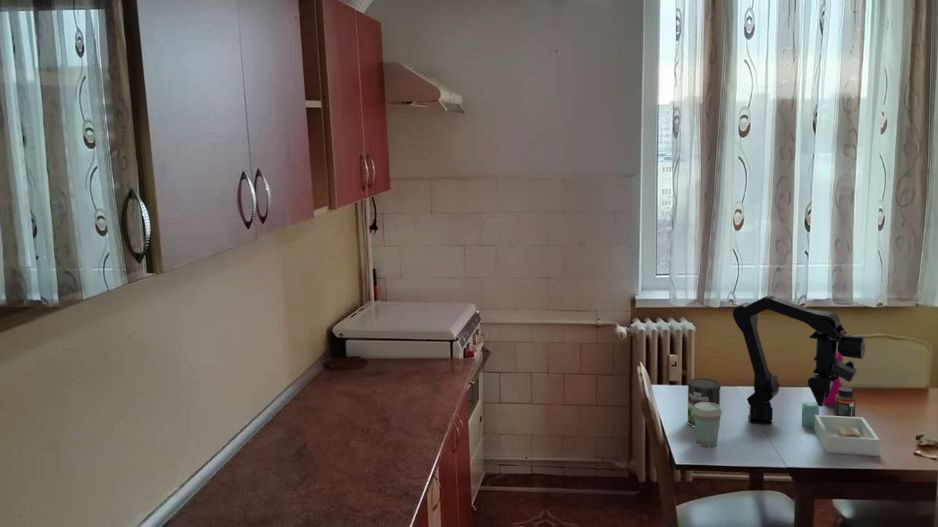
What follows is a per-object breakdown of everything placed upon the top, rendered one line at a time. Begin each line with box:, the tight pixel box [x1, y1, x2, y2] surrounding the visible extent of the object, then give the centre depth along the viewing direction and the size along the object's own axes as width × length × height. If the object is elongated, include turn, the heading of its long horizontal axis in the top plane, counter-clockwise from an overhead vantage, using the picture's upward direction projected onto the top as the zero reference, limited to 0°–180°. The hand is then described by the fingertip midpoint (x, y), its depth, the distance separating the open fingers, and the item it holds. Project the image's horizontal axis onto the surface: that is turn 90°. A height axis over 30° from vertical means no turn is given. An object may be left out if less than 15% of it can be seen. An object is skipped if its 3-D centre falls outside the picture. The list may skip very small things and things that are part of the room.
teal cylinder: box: [801, 401, 820, 429], centre depth 237 cm, size 5×5×7 cm
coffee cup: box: [693, 402, 723, 448], centre depth 226 cm, size 9×8×12 cm
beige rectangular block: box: [838, 427, 861, 438], centre depth 219 cm, size 5×5×5 cm
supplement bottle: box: [833, 387, 857, 417], centre depth 238 cm, size 6×6×11 cm
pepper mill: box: [823, 351, 844, 406], centre depth 255 cm, size 7×7×20 cm
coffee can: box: [687, 377, 722, 426], centre depth 241 cm, size 10×10×14 cm
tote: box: [813, 414, 881, 457], centre depth 223 cm, size 14×18×5 cm
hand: (823, 401), depth 230 cm, fingers open, 9 cm apart
